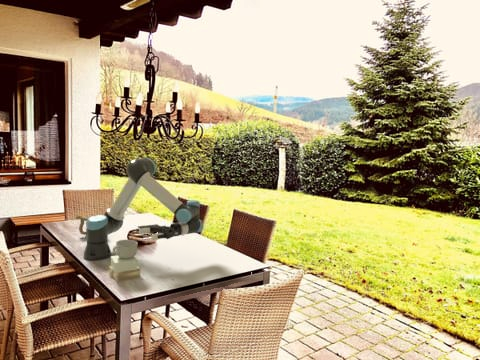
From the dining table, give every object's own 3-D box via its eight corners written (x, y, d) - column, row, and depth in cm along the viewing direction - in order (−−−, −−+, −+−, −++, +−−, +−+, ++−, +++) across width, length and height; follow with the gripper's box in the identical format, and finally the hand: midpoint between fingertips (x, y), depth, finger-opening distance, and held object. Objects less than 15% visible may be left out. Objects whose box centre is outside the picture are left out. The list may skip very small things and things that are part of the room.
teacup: (130, 252, 208) (130, 238, 207) (141, 257, 201) (141, 242, 200) (106, 257, 198) (106, 242, 197) (117, 263, 191) (117, 248, 190)
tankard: (108, 235, 271) (108, 214, 269) (100, 240, 259) (100, 219, 257) (81, 234, 273) (81, 213, 271) (71, 238, 260) (71, 217, 259)
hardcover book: (147, 237, 274) (147, 233, 274) (137, 229, 293) (137, 226, 293) (169, 234, 282) (169, 231, 282) (157, 227, 302) (157, 224, 301)
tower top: (110, 265, 202) (110, 256, 201) (132, 262, 207) (132, 253, 207) (114, 272, 193) (114, 263, 192) (137, 269, 198) (137, 260, 197)
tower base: (108, 275, 202) (108, 266, 201) (130, 270, 209) (130, 261, 209) (118, 282, 193) (118, 273, 192) (140, 277, 200) (140, 268, 200)
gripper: (191, 240, 213) (157, 247, 199) (166, 230, 231) (134, 235, 217) (191, 227, 212) (157, 233, 198) (167, 218, 230) (134, 222, 216)
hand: (145, 234), depth 207 cm, fingers open, 13 cm apart
